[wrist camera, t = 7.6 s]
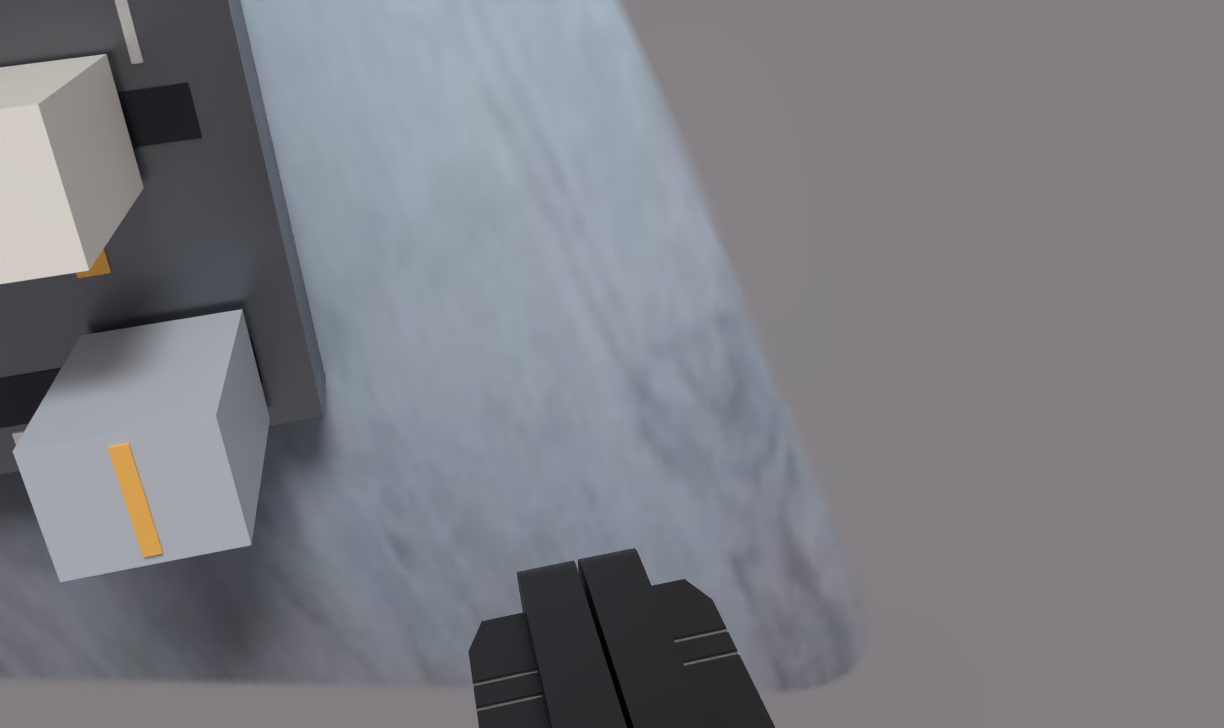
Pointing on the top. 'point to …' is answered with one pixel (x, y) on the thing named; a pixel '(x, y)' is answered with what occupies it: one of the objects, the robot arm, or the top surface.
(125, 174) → the ivory cap
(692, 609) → the robot arm
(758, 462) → the top surface
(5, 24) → the fader console
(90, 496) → the slate fader cap
